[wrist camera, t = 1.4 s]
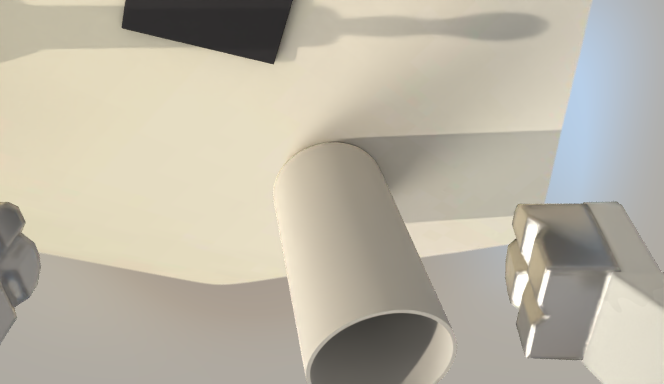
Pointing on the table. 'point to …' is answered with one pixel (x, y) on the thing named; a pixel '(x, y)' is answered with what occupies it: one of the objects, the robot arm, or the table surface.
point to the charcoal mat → (214, 24)
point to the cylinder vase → (356, 274)
